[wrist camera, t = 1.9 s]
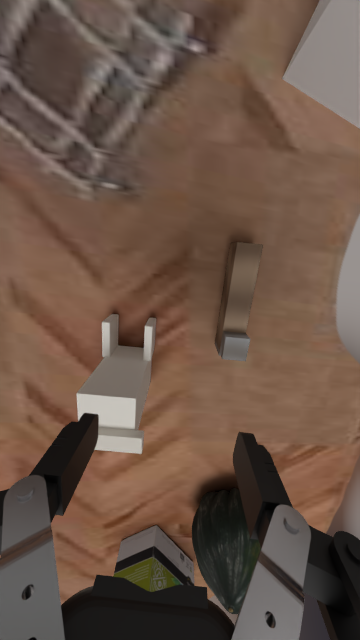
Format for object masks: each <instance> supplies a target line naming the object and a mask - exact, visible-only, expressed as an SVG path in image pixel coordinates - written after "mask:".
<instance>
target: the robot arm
mask: <svg viewBox="0 0 360 640" xmlns="http://www.w3.org/2000/svg"><path fill="white" fill-rule="evenodd" d="M98 424H99V416H98V414H92V413H84V414H83V415H82V416H81V418H80V419H79V421H78V422H71V423H69V424H68V425H67V426H65V427H64V428H63V429H62V430H61V432H60V433H59V435H58V436H57V438H56V439H55V440H54V442H53V443H52V445H51V446H50V447H49V449H48V450H47V451H46V453H45V454H44V456H43V457H42V458H41V460H40V461H39V463H38V464H37V465H36V467H35V468H34V470H33V471H32V472H31V474H30V475H29V476H27V477H25V478H23V479H21V480H19V481H18V482H16V483H15V484H14V485H13V486H12V487H11V488H10V489H7V490H4V491H0V555H1V558H0V640H299V635H300V628H301V621H302V615H303V607H304V594H303V592H305V593H307V594H308V595H310V596H312V597H313V598H315V599H317V602H318V605H319V608H320V610H321V614H322V617H323V619H324V622H325V625H326V628H327V631H328V634H329V637H330V639H331V640H360V540H359V539H358V538H356V537H355V536H353V535H352V534H350V533H347V532H344V531H338V532H336V533H335V535H334V537H332V536H329V535H327V534H325V533H323V532H321V531H319V530H317V529H315V528H313V527H311V526H309V525H308V524H307V522H306V520H305V519H304V517H303V516H302V515H301V514H300V513H299V512H298V511H297V510H295V509H294V508H293V507H292V504H291V502H290V500H289V497H288V495H287V493H286V490H285V488H284V486H283V483H282V481H281V479H280V476H279V474H278V473H277V469H276V467H275V466H274V462H273V460H272V458H271V455H270V453H269V452H268V451H267V450H266V449H265V447H264V446H263V445H258V444H257V442H256V439H255V437H254V435H253V434H251V433H243V432H239V433H238V436H237V440H236V444H235V448H234V452H233V465H234V469H235V474H236V478H237V483H238V487H239V491H240V496H241V500H242V504H243V509H244V513H245V518H246V522H247V526H248V531H249V535H250V539H257V540H259V543H260V547H261V549H260V552H259V555H258V558H257V561H256V564H255V567H254V570H253V573H252V576H251V579H250V582H249V585H248V588H247V590H246V593H245V596H244V599H243V602H242V605H241V608H240V611H239V614H238V617H237V620H236V622H235V625H234V624H233V623H232V621H231V620H230V619H229V617H228V616H227V615H226V614H225V612H223V611H222V610H221V609H220V608H219V607H218V606H217V605H216V604H214V603H213V602H212V601H210V600H208V599H207V587H199V586H190V585H182V584H179V585H175V586H172V587H168V588H165V589H161V590H158V591H154V592H149V591H147V590H145V589H143V588H141V587H140V586H138V585H136V584H134V583H132V582H130V581H129V580H127V579H125V578H121V577H112V576H103V575H96V579H95V582H94V586H91V587H88V588H86V589H83V590H81V591H79V592H78V593H76V594H75V595H73V596H72V597H70V598H69V599H68V600H67V601H65V602H64V603H63V604H62V605H61V602H60V594H59V585H58V577H57V569H56V560H55V552H54V543H53V535H52V530H51V522H52V520H53V518H54V516H55V515H62V516H63V515H64V512H65V510H66V508H67V506H68V504H69V502H70V500H71V498H72V496H73V494H74V491H75V489H76V487H77V485H78V483H79V481H80V479H81V477H82V475H83V472H84V470H85V468H86V466H87V464H88V462H89V460H90V458H91V456H92V454H93V451H94V449H95V447H96V444H97V440H98Z"/></svg>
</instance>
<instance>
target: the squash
mask: <svg viewBox="0 0 360 640" xmlns="http://www.w3.org/2000/svg"><path fill="white" fill-rule="evenodd" d="M192 542H193V548H194V551H195V554H196V558H197V562H198V566H199V569H200V571H201V574H202V576H203V578H204V580H205V582H206V583H207V585H208V586H209V588H210V589H211V590H212V592H213V593H214V594H215V596H216V597H217V598H218V600H219V601H220V603H221V604H222V605H223V606H224V608H225V609H226V610H227V611H228V612H230V613H232V614H239V611H240V608H241V605H242V602H243V599H244V596H245V593H246V590H247V588H248V585H249V582H250V579H251V576H252V573H253V570H254V567H255V564H256V561H257V558H258V555H259V552H260V549H261V547H260V543H259V540H257V539H250V535H249V531H248V526H247V522H246V518H245V513H244V509H243V504H242V500H241V496H240V491H239V489H236V488H233V489H232V490H231V491H230V493H229V492H228V491H226V490H221V491H220V492H218V493H217V492H209V493H206V494H205V495H204V496H203V497H202V499H201V501H200V505H199V508H198V510H197V512H196V514H195V516H194V519H193V524H192Z"/></svg>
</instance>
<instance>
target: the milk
mask: <svg viewBox="0 0 360 640" xmlns="http://www.w3.org/2000/svg"><path fill="white" fill-rule="evenodd" d="M282 79H283V80H285V81H286V82H288V83H289V84H291V85H293V86H294V87H296V88H297V89H299V90H300V91H302V92H303V93H305V94H307V95H308V96H310V97H311V98H313V99H314V100H316V101H317V102H319V103H321V104H322V105H324V106H325V107H327V108H328V109H330V110H332V111H333V112H335V113H336V114H338V115H339V116H341V117H342V118H344V119H346V120H347V121H349V122H350V123H352V124H353V125H355V126H356V127H358V128H360V0H320V1H319V3H318V5H317V7H316V9H315V11H314V13H313V15H312V17H311V19H310V22H309V24H308V26H307V28H306V30H305V32H304V34H303V36H302V38H301V40H300V42H299V44H298V47H297V49H296V51H295V53H294V55H293V57H292V59H291V61H290V63H289V65H288V67H287V69H286V72H285V74H284V76H283V78H282Z"/></svg>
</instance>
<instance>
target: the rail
mask: <svg viewBox="0 0 360 640" xmlns="http://www.w3.org/2000/svg"><path fill="white" fill-rule="evenodd" d="M262 248H263V245H262V244H252V243H242V242H235V243H231V244H230V248H229V255H228V261H227V268H226V274H225V281H224V287H223V294H222V300H221V307H220V313H219V320H218V326H217V333H216V339H215V345H216V348H217V351H218V354H219V355H221V357H222V359H228V360H239V361H246V357H247V353H248V348H249V343H250V338H249V337H248V336H247V334H246V329H247V324H248V319H249V314H250V309H251V304H252V299H253V294H254V289H255V284H256V279H257V274H258V268H259V263H260V258H261V253H262Z"/></svg>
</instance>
